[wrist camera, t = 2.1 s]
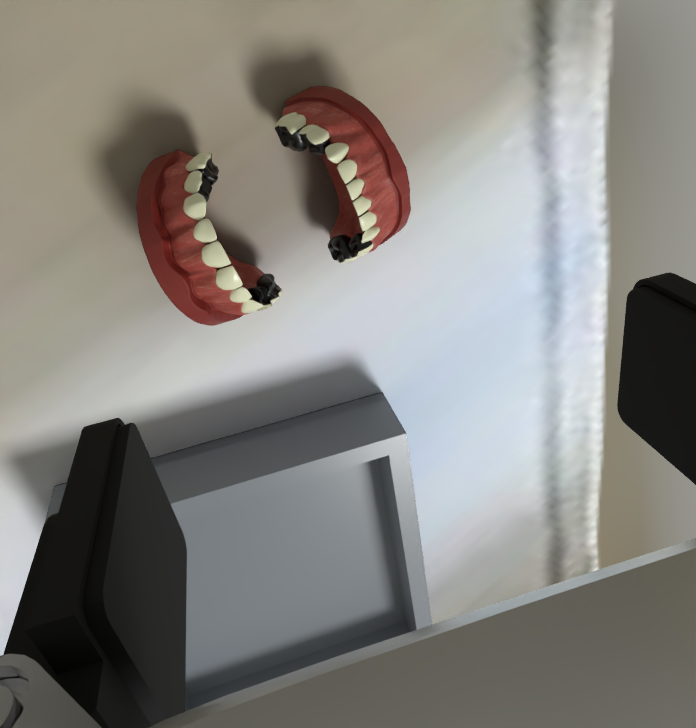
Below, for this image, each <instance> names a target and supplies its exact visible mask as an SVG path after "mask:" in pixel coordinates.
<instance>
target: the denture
mask: <svg viewBox="0 0 696 728" xmlns="http://www.w3.org/2000/svg"><path fill="white" fill-rule="evenodd" d="M285 104H286V107H285V108H284V109H283V111H282V116H283V117H282V118H280V120H279V121H278V122H277V124H276V126H275V130H276V132H277V134H278V136H279V138H280V141H281V143H282V145H283V146H284V147H289V148H290V149H292V150H294V151H304V150H305V149H307V147H308V148H309V151H310V152H311V153H314V154H319V155H321V156H322V158H323V160H324V162H325V164H326V167H327V169H328V171H329V174H330V176H331V178H332V181H333V184H334V187H335V190H336V193H337V196H338V201H339V214H338V218H337V221H336V223H335V226H334V228H333V230H332V232H331V234H330V241H329V243H328V248H329V250H330V252H331V255H332V258H333V259H334V260H336V261H339V262H340V263H346V262H351V261H353V260H355V259H357V258H358V257H360V256H363V255H365V254H367V253H368V252H371V251H373V250H375V249H376V248H377V247H378V246H379V245H381V244H382V243H384V242H385V241H387V240H388V239H389V238H391V237H392V236H393V235H395V234H396V233H397V232H399V231H400V230H401V229H402V228H403V227H404V226H405V225H406V223H407V220H408V217H409V214H410V210H411V207H410V188H409V180H408V175H407V170H406V167H405V165H404V163H403V160H402V158H401V156H400V154H399V152H398V150H397V149H396V147H395V145H394V143H393V142H392V141H391V139H390V137H389V136H388V134H387V132H386V131H385V129H384V127H383V125H382V124H381V122H380V121H379V120H378V119H377V117H376V116H375V115H374V114H373V113H372V112H371V111H370V110H369V109H368V108H367V107H366V106H365V105H364V104H362V103H361V102H360V101H358V100H357V99H355V98H354V97H352V96H350V95H349V94H347V93H345V92H343V91H342V90H339V89H336V88H332V87H326V86H315V87H310V88H308V89H306V90H304V91H302V92H300V93H298V94H297V95H295V96H293V97H291V98H290V99H288V100H286V101H285ZM218 172H219V170H218V168H217V166H215V165H214V164H213V163H212V153H211V152H209V151H206V152H202V153H200V154H198V155H196V156H195V157H193V156H190V155H188V154H186V153H184V152H182V151H179V150H176V151H173V152H171V153H168V154H166V155H164V156H161V157H159V158H157V159H154V160H153V161H152V162H151V163H150V164H149V165H148V167H147V168H146V170H145V171H144V173H143V175H142V178H141V181H140V184H139V189H138V197H137V216H138V227H139V233H140V237H141V241H142V244H143V248H144V251H145V253H146V256H147V259H148V262H149V264H150V267H151V269H152V271H153V273H154V275H155V277H156V279H157V281H158V283H159V284H160V286H161V288H162V289H163V291H164V292H165V294H166V295H167V296H168V298H169V299H170V300H171V302H172V303H173V304H174V305H175V306H176V307H177V308H178V309H179V310H180V311H181V312H182V313H184V314H185V315H186V316H187V317H189V318H190V319H192V320H193V321H195V322H197V323H200V324H204V325H210V326H211V325H217V324H221V323H224V322H228V321H231V320H234V319H237V318H239V317H241V316H243V315H245V314H249V313H251V312H253V311H256V310H258V311H259V310H263V309H266V308H268V307H270V306H272V304H271V303H273V302H275V301H276V300H278V299H279V297H280V295H281V293H282V289H281V288H280V287H279V286H278V285H277V284H276V283H275V282H274V276H273V275H272V274H264V273H263V272H262V271H261V270H260V269H258V268H257V267H256V266H253V265H249V264H245V263H243V262H240V261H238V260H237V259H235V258H234V257H232V256H231V255H229V254H228V253H227V252H226V251H225V250H224V248H223V247H222V245H221V243H220V242H219V241H216V239H217V235H216V232H215V230H214V227H213V225H212V223H211V221H210V220H209V219H205V218H204V217H205V213H206V204H207V201H208V199H209V195H210V192H211V190H212V185H213V184H214V183H215V182H216V181H217V179H218V176H217V175H218Z"/></svg>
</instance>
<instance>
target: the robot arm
mask: <svg viewBox="0 0 696 728" xmlns="http://www.w3.org/2000/svg"><path fill="white" fill-rule="evenodd" d="M617 405H618V412H619V415H620V417H621V419H622V420H623V422H624V423H625V424H626V425H627V426H629V427H630V428H631V429H632V430H633V431H634V432H636V433H637V434H638V435H639V436H640V437H641V438H642V439H644V440H645V441H646V442H647V443H648V444H649V445H651V446H652V447H653V448H654V449H655V450H656V451H657V452H659V453H660V454H661V455H662V456H663V457H664V458H665V459H667V460H668V461H669V462H670V463H671V464H672V465H674V466H675V467H676V468H677V469H678V470H679V471H680V472H682V473H683V474H684V475H685V476H686V477H687V478H689V479H690V480H691V481H692V482H693V483H694V484H695V485H696V284H695V283H693V282H691V281H689V280H687V279H684V278H682V277H680V276H678V275H676V274H673V273H665V274H661V275H657V276H653V277H650V278H646V279H642V280H639V281H638V282H637V283H636V284H635V286H634V288H633V290H631V291H630V292H629V294H628V296H627V303H626V314H625V326H624V336H623V348H622V359H621V371H620V383H619V393H618V404H617ZM186 591H187V548H186V542H185V538H184V534H183V532H182V529H181V527H180V525H179V522H178V520H177V518H176V516H175V513H174V511H173V509H172V506H171V504H170V502H169V500H168V497H167V495H166V493H165V490H164V488H163V486H162V484H161V481H160V479H159V477H158V474H157V472H156V470H155V468H154V465H153V463H152V461H151V458H150V456H149V454H148V452H147V449H146V447H145V445H144V442H143V440H142V438H141V436H140V433H139V431H138V429H137V427H136V425H135V424H134V423H129V424H125V425H124V423H123V422H122V420H121V419H119V418H115V419H112V420H108V421H104V422H100V423H97V424H93V425H89V426H86V427H84V428H83V430H82V433H81V436H80V440H79V443H78V446H77V450H76V453H75V457H74V460H73V464H72V467H71V471H70V474H69V477H68V481H67V484H66V488H65V491H64V495H63V498H62V502H61V505H60V508H59V512H58V513H56V514H52V515H51V516H50V517H48V518H47V520H46V522H45V524H44V527H43V530H42V533H41V536H40V539H39V543H38V546H37V549H36V552H35V555H34V559H33V562H32V565H31V568H30V571H29V575H28V578H27V581H26V584H25V587H24V591H23V594H22V597H21V600H20V603H19V607H18V610H17V613H16V616H15V619H14V623H13V626H12V629H11V632H10V635H9V639H8V642H7V645H6V648H5V651H4V655H2V656H0V728H696V538H695V539H692V540H689V541H685V542H682V543H679V544H676V545H673V546H670V547H667V548H664V549H661V550H658V551H655V552H652V553H649V554H646V555H642V556H639V557H636V558H633V559H630V560H627V561H624V562H621V563H618V564H615V565H612V566H609V567H606V568H603V569H599V570H596V571H593V572H590V573H587V574H584V575H581V576H578V577H575V578H572V579H569V580H566V581H563V582H560V583H557V584H554V585H551V586H548V587H545V588H541V589H538V590H535V591H532V592H529V593H526V594H523V595H520V596H517V597H514V598H511V599H508V600H505V601H502V602H499V603H496V604H493V605H490V606H487V607H484V608H481V609H478V610H475V611H472V612H469V613H466V614H463V615H460V616H457V617H454V618H451V619H448V620H445V621H442V622H439V623H436V624H433V625H430V626H427V627H424V628H421V629H418V630H415V631H412V632H409V633H406V634H403V635H400V636H397V637H394V638H391V639H388V640H385V641H382V642H379V643H376V644H373V645H370V646H367V647H364V648H361V649H358V650H355V651H352V652H349V653H346V654H343V655H340V656H337V657H334V658H331V659H328V660H325V661H323V662H320V663H317V664H314V665H311V666H308V667H305V668H303V669H300V670H297V671H294V672H291V673H288V674H286V675H283V676H280V677H277V678H274V679H271V680H268V681H266V682H263V683H260V684H257V685H254V686H251V687H249V688H246V689H243V690H240V691H237V692H234V693H231V694H229V695H226V696H223V697H221V698H218V699H216V700H213V701H211V702H208V703H206V704H203V705H201V706H198V707H196V708H193V709H191V710H188V711H186V712H185V678H186Z"/></svg>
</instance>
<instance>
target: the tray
mask: <svg viewBox="0 0 696 728" xmlns="http://www.w3.org/2000/svg"><path fill="white" fill-rule="evenodd" d="M151 461H152V463H153V465H154V468H155V470H156V472H157V474H158V477H159V479H160V481H161V484H162V486H163V488H164V490H165V493H166V495H167V497H168V500H169V502H170V504H171V506H172V509H173V511H174V513H175V516H176V518H177V520H178V522H179V525H180V527H181V529H182V532H183V534H184V538H185V542H186V548H187V591H186V678H185V712H186V711H188V710H191V709H193V708H196V707H198V706H201V705H203V704H206V703H208V702H211V701H213V700H216V699H218V698H221V697H223V696H226V695H229V694H231V693H234V692H237V691H240V690H243V689H246V688H249V687H251V686H254V685H257V684H260V683H263V682H266V681H268V680H271V679H274V678H277V677H280V676H283V675H286V674H288V673H291V672H294V671H297V670H300V669H303V668H305V667H308V666H311V665H314V664H317V663H320V662H323V661H325V660H328V659H331V658H334V657H337V656H340V655H343V654H346V653H349V652H352V651H355V650H358V649H361V648H364V647H367V646H370V645H373V644H376V643H379V642H382V641H385V640H388V639H391V638H394V637H397V636H400V635H403V634H406V633H409V632H412V631H415V630H418V629H421V628H424V627H427V626H430V625H432V621H431V613H430V606H429V598H428V591H427V583H426V576H425V569H424V561H423V554H422V546H421V539H420V531H419V524H418V516H417V509H416V502H415V494H414V487H413V479H412V472H411V464H410V457H409V449H408V442H407V434H406V432H405V430H404V428H403V427H402V425H401V423H400V422H399V420H398V418H397V416H396V415H395V413H394V411H393V410H392V408H391V406H390V404H389V403H388V401H387V399H386V398H385V396H384V394H383V392H382V393H378V394H375V395H371V396H368V397H364V398H361V399H357V400H354V401H350V402H347V403H343V404H340V405H336V406H333V407H329V408H326V409H323V410H319V411H316V412H312V413H309V414H305V415H302V416H298V417H295V418H291V419H288V420H284V421H281V422H277V423H274V424H270V425H267V426H263V427H260V428H256V429H253V430H249V431H246V432H242V433H239V434H235V435H232V436H228V437H225V438H221V439H218V440H215V441H211V442H208V443H204V444H201V445H197V446H194V447H190V448H187V449H183V450H180V451H176V452H173V453H169V454H166V455H162V456H159V457H155V458H152V459H151ZM66 484H67V483H65V484H61V485H58V486H54V490H53V494H52V498H51V501H50V505H49V509H48V513H47V517H46V520H47V518H48V517H50V516H51V515H52V514H56V513H58V512H59V508H60V505H61V502H62V498H63V495H64V491H65V488H66ZM45 522H46V521H45Z"/></svg>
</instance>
